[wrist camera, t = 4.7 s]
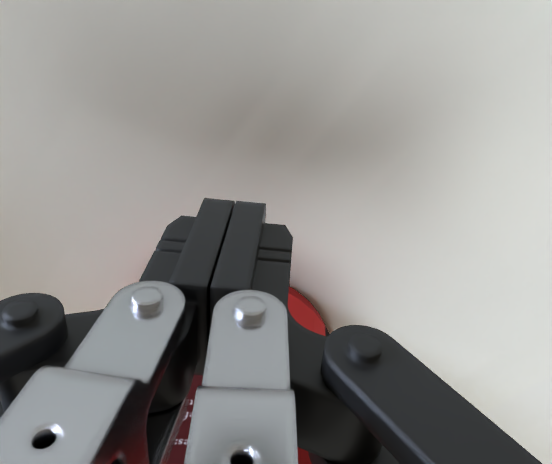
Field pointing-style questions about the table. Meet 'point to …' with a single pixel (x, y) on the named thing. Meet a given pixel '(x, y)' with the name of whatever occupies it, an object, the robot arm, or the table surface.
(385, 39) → the table surface
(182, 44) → the table surface
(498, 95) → the table surface
